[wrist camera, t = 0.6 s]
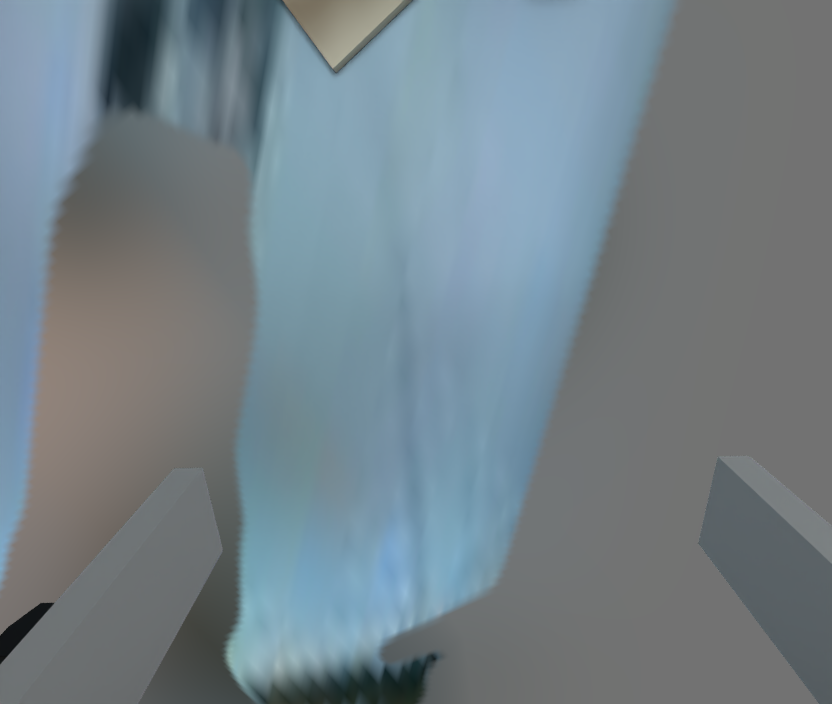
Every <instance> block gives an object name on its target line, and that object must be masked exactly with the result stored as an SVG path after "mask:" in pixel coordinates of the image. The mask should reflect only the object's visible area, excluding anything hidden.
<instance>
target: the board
mask: <svg viewBox="0 0 832 704" xmlns="http://www.w3.org/2000/svg"><path fill="white" fill-rule="evenodd" d="M411 1H412V0H283V2H284V3H285V4H286V6H287V7H288V8H289V10H290V11H291V13H292V14H293V15H294V17H295V18H296V19H297V21H298V22H299V23H300V25H301V26H302V28H303V29H304V30H305V32H306V33H307V34H308V36H309V37H310V38H311V40H312V41H313V43H314V44H315V45H316V47H317V48H318V49H319V51H320V52H321V53H322V55H323V56H324V58H325V59H326V60H327V62H328V63H329V64H330V66H331V67H332V69H333V70H334V71H335V72H336V73H337V72H338V71H339V70H340V69H341V68H342V67H343V66H344V65H345V64H346V63H347V62H348V61H350V60H351V59H352V58H353V57H354V56H355V55H356V54H357V53H358V52H359V51H360V50H361V49H362V48H363V47H364V46H365V45H366V44H367V43H368V42H369V41H370V40H371V39H372V38H374V37H375V36H376V35H377V34H378V33H379V32H380V31H381V30H382V29H383V28H384V27H385V26H386V25H387V24H388V23H389V22H390V21H391V20H392V19H393V18H394V17H395V16H397V15H398V14H399V13H400V12H401V11H402V10H403V9H404V8H405V7H406V6H407V5H408V4H409V3H410V2H411Z"/></svg>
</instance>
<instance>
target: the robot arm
mask: <svg viewBox="0 0 832 704" xmlns="http://www.w3.org/2000/svg"><path fill="white" fill-rule="evenodd" d="M699 545H700V546H701V547H702V549H703V550H704V551H705V553H706V554H707V556H708V557H709V558H710V560H711V561H712V562H713V564H714V565H715V566H716V567H717V569H718V570H719V572H720V573H721V574H722V575H723V577H724V578H725V579H726V581H727V582H728V583H729V585H730V586H731V587H732V589H733V590H734V591H735V593H736V594H737V595H738V597H739V598H740V599H741V601H742V602H743V603H744V605H745V606H746V607H747V609H748V610H749V611H750V613H751V614H752V615H753V617H754V618H755V619H756V621H757V622H758V623H759V625H760V626H761V627H762V629H763V630H764V631H765V633H766V634H767V635H768V636H769V638H770V639H771V641H772V642H773V643H774V645H775V646H776V647H777V649H778V650H779V651H780V653H781V654H782V655H783V657H784V658H785V659H786V660H787V662H788V663H789V664H790V666H791V667H792V668H793V670H794V671H795V672H796V674H797V675H798V676H799V678H800V679H801V680H802V682H803V683H804V684H805V686H806V687H807V688H808V690H809V691H810V692H811V694H812V695H813V696H814V697H815V699H816V700H817V702H818V703H819V704H832V526H831V525H830V524H829V523H828V522H827V521H825V520H824V519H823V518H822V517H821V516H820V515H818V514H817V513H816V512H815V511H814V510H813V509H811V508H810V507H809V506H808V505H807V504H805V503H804V502H803V501H802V500H801V499H799V498H798V497H797V496H796V495H795V494H793V493H792V492H791V491H790V490H789V489H788V488H787V487H785V486H784V485H783V484H782V483H781V482H779V481H778V480H777V479H776V478H775V477H773V476H772V475H771V474H770V473H769V472H768V471H766V470H765V469H764V468H763V467H761V466H760V465H759V464H758V463H757V462H756V461H754V460H753V459H752V458H751V457H750V456H724V457H718V458H717V463H716V467H715V472H714V476H713V481H712V485H711V490H710V494H709V498H708V503H707V507H706V512H705V517H704V520H703V525H702V529H701V534H700V538H699ZM222 551H223V549H222V545H221V541H220V536H219V532H218V528H217V524H216V520H215V516H214V512H213V508H212V503H211V499H210V495H209V491H208V487H207V483H206V479H205V475H204V470H203V468H174V469H173V470H172V471H171V472H170V474H169V475H168V476H167V477H166V478H165V479H164V480H163V482H162V483H161V484H160V485H159V486H158V487H157V488H156V489H155V491H154V492H153V493H152V494H151V495H150V496H149V497H148V498H147V499H146V501H145V502H144V503H143V504H142V505H141V506H140V508H139V509H138V510H137V511H136V512H135V513H134V514H133V515H132V516H131V518H130V519H129V520H128V521H127V522H126V523H125V524H124V525H123V527H122V528H121V529H120V530H119V531H118V532H117V533H116V534H115V536H114V537H113V538H112V539H111V540H110V541H109V543H108V544H107V545H106V546H105V547H104V548H103V549H102V550H101V551H100V553H99V554H98V555H97V556H96V557H95V558H94V559H93V560H92V562H91V563H90V564H89V565H88V566H87V567H86V568H85V569H84V571H83V572H82V573H81V574H80V575H79V576H78V577H77V578H76V580H75V581H74V582H73V583H72V584H71V585H70V587H68V589H67V590H66V591H65V592H64V593H63V594H62V595H61V597H60V598H59V599H58V600H57V601H56V602H55V603H40V604H39V605H38V606H36V607H35V608H34V609H32V610H31V611H29V612H28V613H27V614H25V615H24V616H23V617H21V618H20V619H19V620H17V621H16V622H15V623H13V624H12V625H10V626H9V627H8V628H7V629H6V630H5V631H4V632H3V633H2V634H1V635H0V704H138V703H139V701H140V699H141V697H142V696H143V694H144V692H145V690H146V688H147V687H148V685H149V683H150V681H151V679H152V677H153V676H154V674H155V672H156V670H157V668H158V667H159V665H160V663H161V661H162V659H163V658H164V656H165V654H166V652H167V650H168V649H169V647H170V645H171V643H172V641H173V640H174V638H175V636H176V634H177V632H178V631H179V629H180V627H181V625H182V623H183V622H184V620H185V618H186V616H187V614H188V613H189V611H190V609H191V607H192V605H193V604H194V602H195V600H196V598H197V596H198V595H199V593H200V591H201V589H202V587H203V586H204V584H205V582H206V580H207V578H208V577H209V575H210V573H211V571H212V569H213V568H214V566H215V564H216V562H217V560H218V559H219V557H220V555H221V553H222Z"/></svg>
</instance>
